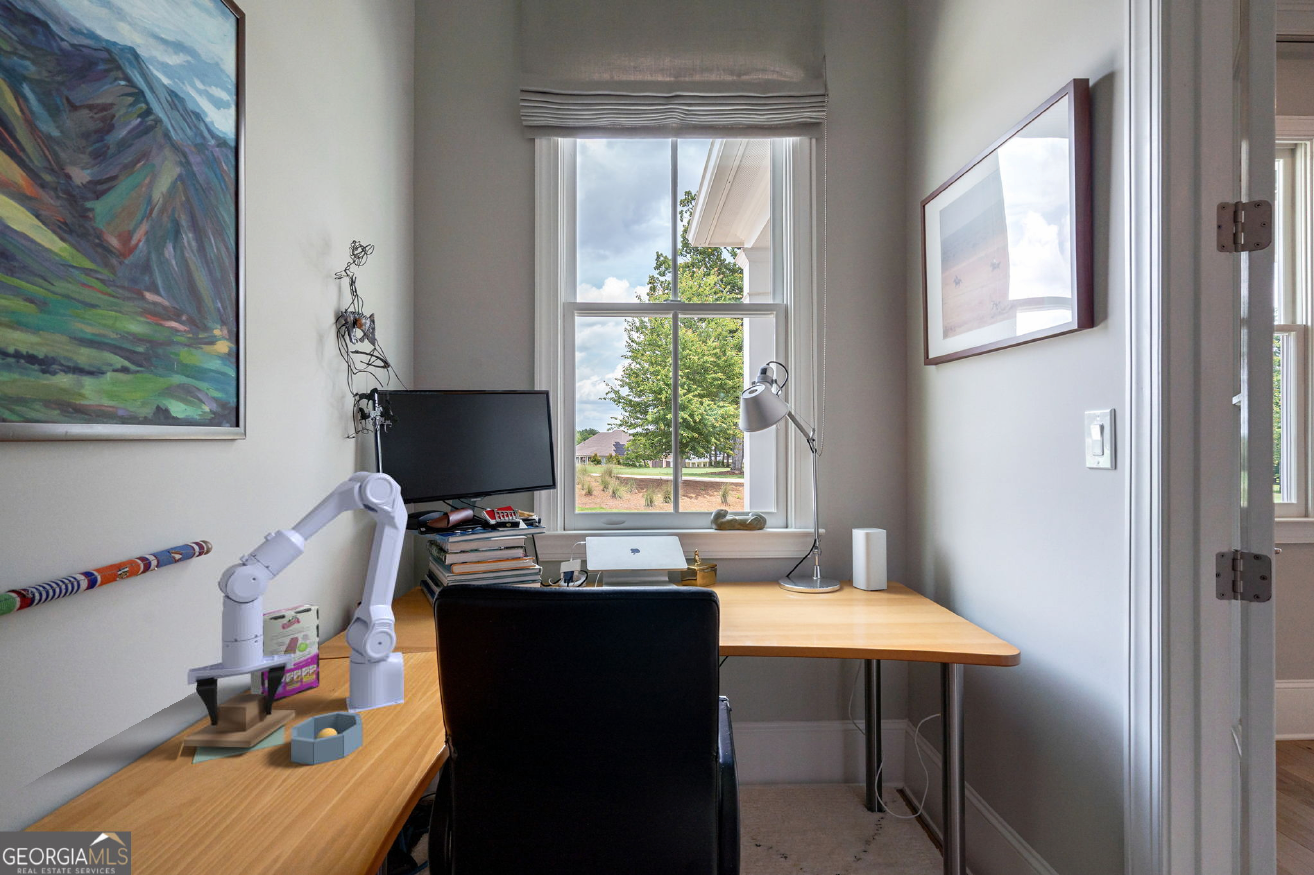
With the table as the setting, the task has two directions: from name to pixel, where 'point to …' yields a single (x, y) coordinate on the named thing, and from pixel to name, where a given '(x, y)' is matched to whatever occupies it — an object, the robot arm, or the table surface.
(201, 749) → the mat
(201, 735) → the lid
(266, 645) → the candy bar box
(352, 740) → the bowl
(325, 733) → the orange ball
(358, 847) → the table surface
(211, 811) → the table surface
